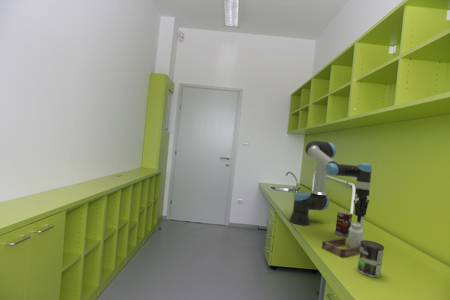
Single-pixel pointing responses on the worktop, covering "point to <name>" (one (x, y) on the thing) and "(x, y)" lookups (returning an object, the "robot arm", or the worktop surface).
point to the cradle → (332, 247)
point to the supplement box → (343, 224)
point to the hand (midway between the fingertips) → (359, 226)
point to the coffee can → (370, 258)
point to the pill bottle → (355, 235)
